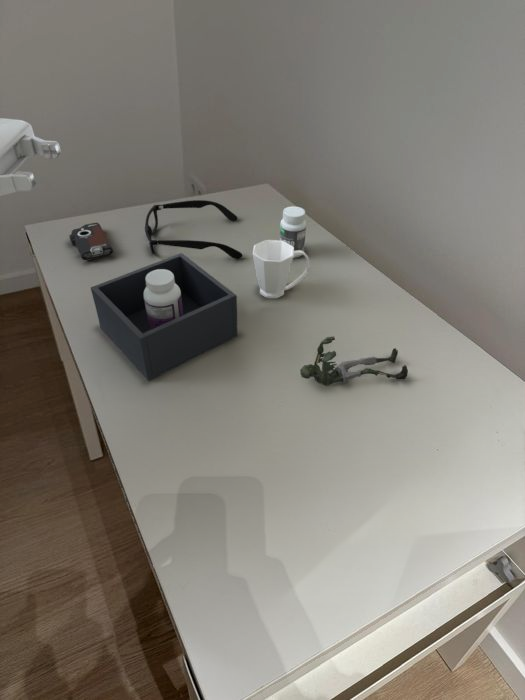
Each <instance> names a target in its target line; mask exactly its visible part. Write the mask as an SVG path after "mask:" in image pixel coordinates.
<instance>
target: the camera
mask: <svg viewBox="0 0 525 700" xmlns="http://www.w3.org/2000/svg"><path fill="white" fill-rule="evenodd" d="M68 237H69V240H70V243H71V245H72V246H76V247H75V248H76V249H77V250H78V253H79V255H80V257H81V259H82V261H89V260H94V259H99V258H104V257H108V256H111V255H113V254H114V249H113V247H112V245H111V243H110V242H109V241H110V240H109V238H108V237H107V235H106V233H105V232H104V230H103V228H102V226H101V224H100V223H99V222H92V223H87V224H83V225H82V226H81V227H78V228H74V229H72V230H71V234H69V236H68Z"/></svg>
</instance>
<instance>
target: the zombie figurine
mask: <svg viewBox="0 0 525 700" xmlns="http://www.w3.org/2000/svg"><path fill="white" fill-rule="evenodd" d="M333 341H336V338H335V336H334V335H333V336H327V337H325V338H324V339H323V340H321V341H320V343H319V345H318V347H317V349H316V352H317V354H316V357H315V360H314V363H313V364H312V363H309V364H304V365H303V366H302V367H301V368H300V369H299V374H300V376H301V378H302V379H306V380H309V379H310V378H313V379H314V380H315V382H317V383H318V384H321V385H323V386H330V385H332V384H336V383H342V384H348V383H349V381H350V380H352V379H356V378H359V377H362V376H364V375H374V376H375V377H377V376H385V377H386V378H387V379H390V378H393V379H395V380H399V381H401V380H403V381H404V380H405V379H406V378H407V377H408V372H409V369H408V366H407V365H406V364H404V365H403V366H402V367H401V370H400V372H398V373H396V374H393V373H388V372H384V371H381V370H376V369H372V368H369V367H368V368H367V367H365V368H364V369H359V370H357V371H349V370H350V369H351V368H354V367H357V366H361V365H364V366H371V365H375V364H379V363H383V362H391V363H393V364H396V360H397V357H398V354H399V350H398V349H397V348H396V347H394V348H393V349H392V350H391V354H390V356H388V357H377V356H369V357H363V358H359V359H356V360H355V359H353V360H346V361H342V362H341V363H340V364H337V363H336V361H331V360H334V358H336V356H337V352H336V350H333V351H330V350H329V351H327V352H324V351H325V349H324V345H328V344H332V343H333ZM320 363H321V366H320V365H319V364H320Z"/></svg>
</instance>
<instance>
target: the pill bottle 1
mask: <svg viewBox="0 0 525 700" xmlns="http://www.w3.org/2000/svg"><path fill="white" fill-rule="evenodd" d="M146 286H147V287H146V288H145V290H144V302H145V307H146V313H147V319H148V324H149V328H150V330H152V329H154V328H156V327H158V326H161V325H163V324H165V323H167V322H170V321H172V320H174V319H176V318H178V317H181V316H183V315H184V314H183V306H182V298H181V291H180V288H179V287H178V285H177V284H175V280H174V275H173V273H172V272H171V271H169V270H165V269H158V270H154V271H151V272H149V273H148V274H147V275H146Z"/></svg>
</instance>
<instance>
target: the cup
mask: <svg viewBox="0 0 525 700" xmlns="http://www.w3.org/2000/svg"><path fill="white" fill-rule="evenodd" d="M297 255H301V256H304V257H305V260H306V261H305V262H306V267H305V268H304V271H303V272H302V273H301V275H299V276H298V277H297V278H296V279H294V280H293V281H292V282H290V283H289V284H288V281H289V277H290V272H291V268H292V264H293V261H294V258H293V257H295V256H297ZM252 258H253V264H254V270H255V277H256V278H255V279H256V281H257V284H258V287H259V294H260V295H261V296H263V297H264V298H266V299H274V300H275V299H278V298H280V297H283V296H284V295H285V291H288V290H290V289H292V288H294V287H296V285H298V284H299V283H300V282H301V281H303V280H304V279H305V278H306V276H307V275H308V273H309V272H310V269H311V262H310V258H309V256H308V255H307V253H306V252H305V251H304V252H303V251H300V250H296V251H294V247H293V246H291V245H289V244H288V243H286V242H284V241H280V239H279V240H278V239H265V240H263V241H260V242H257V243H256V244H254V245H253V249H252Z"/></svg>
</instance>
